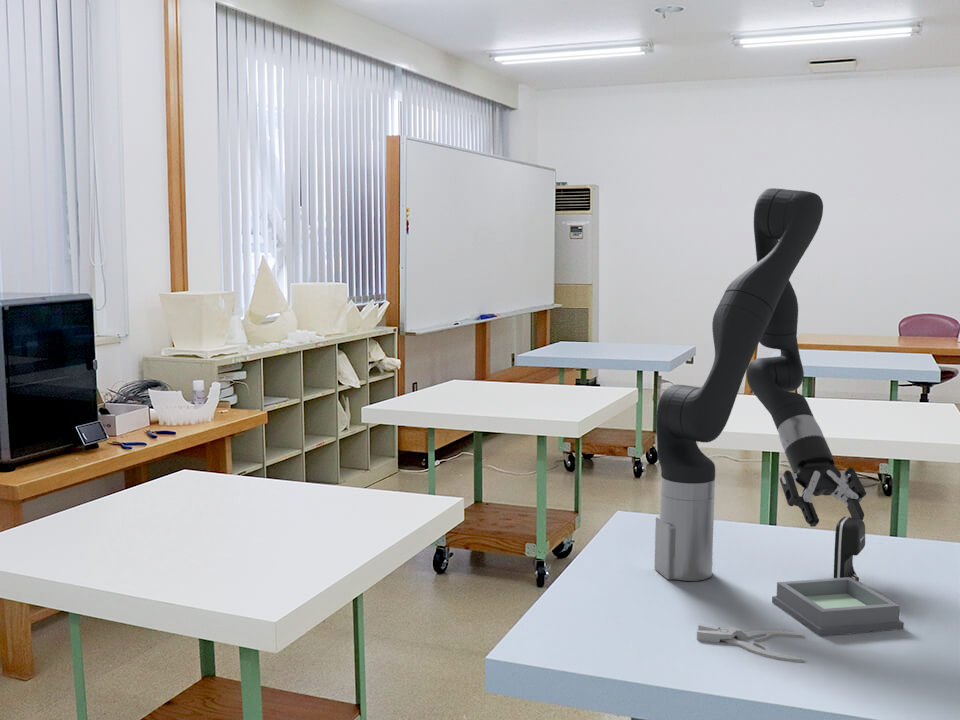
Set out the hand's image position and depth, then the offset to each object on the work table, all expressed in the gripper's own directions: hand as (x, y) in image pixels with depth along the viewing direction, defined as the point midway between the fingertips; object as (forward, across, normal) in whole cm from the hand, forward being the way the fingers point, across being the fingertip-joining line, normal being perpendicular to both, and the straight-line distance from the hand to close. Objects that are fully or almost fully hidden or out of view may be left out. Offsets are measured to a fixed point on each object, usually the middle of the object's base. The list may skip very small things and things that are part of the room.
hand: (837, 523), depth 166 cm
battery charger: (+10, 0, +4) cm, 11 cm away
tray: (+18, -10, -5) cm, 21 cm away
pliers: (+23, -28, -9) cm, 38 cm away
